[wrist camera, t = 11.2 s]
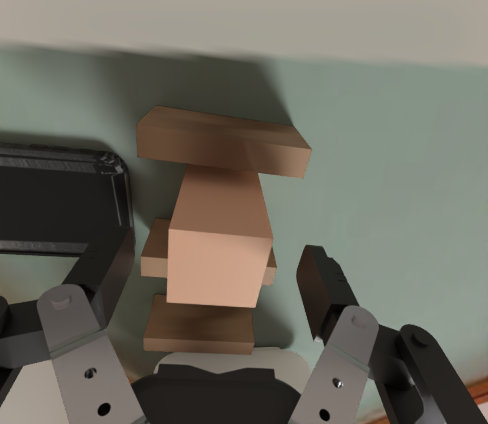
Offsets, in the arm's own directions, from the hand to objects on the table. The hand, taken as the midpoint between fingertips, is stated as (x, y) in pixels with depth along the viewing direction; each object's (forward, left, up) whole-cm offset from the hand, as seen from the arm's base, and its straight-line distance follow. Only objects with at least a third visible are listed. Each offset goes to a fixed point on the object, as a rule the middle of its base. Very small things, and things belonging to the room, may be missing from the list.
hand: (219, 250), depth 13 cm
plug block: (0, 0, -6) cm, 6 cm away
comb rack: (0, +4, -6) cm, 7 cm away
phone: (+13, +3, -7) cm, 15 cm away
